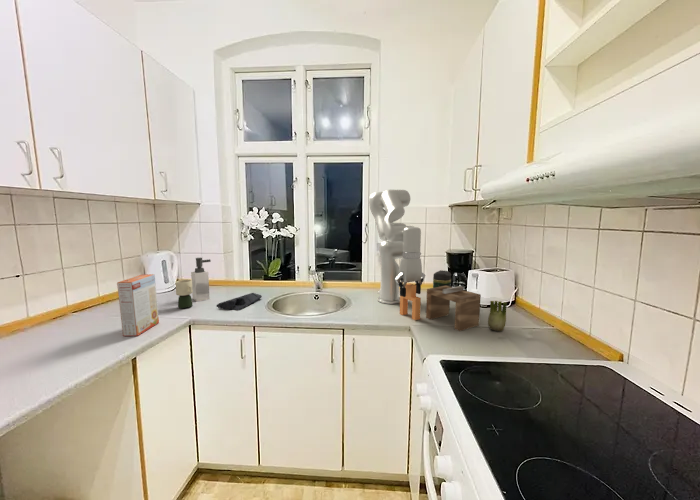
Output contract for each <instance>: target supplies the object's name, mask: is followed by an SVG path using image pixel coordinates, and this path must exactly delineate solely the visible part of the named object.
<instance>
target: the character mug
mask: <svg viewBox="0 0 700 500" xmlns="http://www.w3.org/2000/svg"><path fill="white" fill-rule="evenodd" d="M192 292H193V290H192V279H180V280H176V281H175V294H176V296H178V300H177V301H178V302H177V307H178V308H179V309H183V308H184V309H185V308H187V309H188V308H190V307H193V298H192V295H191V294H192Z"/></svg>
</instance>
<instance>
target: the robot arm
mask: <svg viewBox="0 0 700 500" xmlns="http://www.w3.org/2000/svg"><path fill="white" fill-rule="evenodd" d="M410 203H411V195H410V193H409V191H408V190H406V189H387V190H384V191H376V192H373V193H370V195H369V200H368V204H369V205H368V206H369V210H370V213H371V214H372V216H373V218H374V221H375V225H376V229H377V233H378V237H379V239H380V240H381V241H382V242H381V243H380V244H379V248H378V250H379V257H380V258H379V259H380V288H379V290H378V291H377V294H378V295H379V296H378V297H377V298H376V299H377V301H378V302H379V303H382V304H388V305H394V304H395V305H396V304H400V296H403V297H406V288H405V286H406V284H408V283H413V282H414V283H415V284H414V285H416V295H421V292H422V287H421V286H422V285H423V282H424V280H425V278H426V274H425V273H424V272H423V266H422V265H423V264H422V258H421V255H422V253H421V245H422V244H421V240H422V237H421V235H422V229H421V228H420V227H419V226H418V227H417V226H413V225H406V224H405V223H402V222H396V221H398V220H401V219H402V218H403V217H404V215H405V207H408V206H409V205H410ZM399 259H400V262H399V264H398V262H396V260H399Z"/></svg>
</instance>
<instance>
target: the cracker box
mask: <svg viewBox="0 0 700 500" xmlns="http://www.w3.org/2000/svg"><path fill="white" fill-rule="evenodd" d="M116 285H117V286H116V287H117V294H118V295H117V296H118V302H119V303H118V304H119V311H120V312H119V313H120V319H121V320H120V321H121V329H122V337H138V336H140V335H142V334H143V333H145V332H147V331H148V330H149V329H151V328H153V327H155V326H156V325H159V324H160V318H159V317H160V316H159V309H158V297H157V286H156V276H155V274H153V273H152V274H146V273H145V274H144V273H143V274H139V275H137V276H133V277H130V278H127V279H123V280H121V281H118V282H117V283H116ZM141 333H142V334H141Z"/></svg>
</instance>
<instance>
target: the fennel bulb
mask: <svg viewBox="0 0 700 500" xmlns="http://www.w3.org/2000/svg"><path fill="white" fill-rule="evenodd" d="M489 304H490V306H489V307H490V310H489V314H488V319H487V320H488V321H487V326H488V328H489V329H490V330H491V331H493V332H503V331H504V329H505V327H506V324H507V304H508V302H504V301H503V302H502V301H500V300H499V301H498V300H490V301H489Z"/></svg>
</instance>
